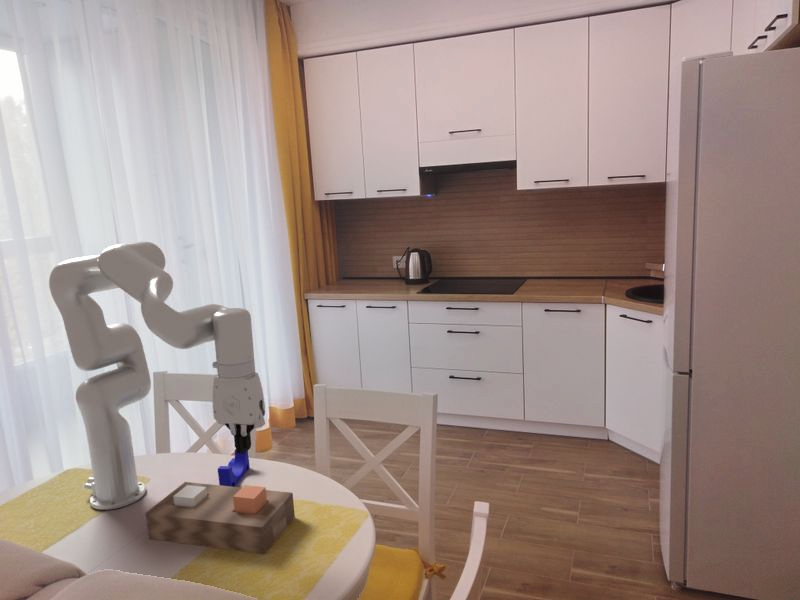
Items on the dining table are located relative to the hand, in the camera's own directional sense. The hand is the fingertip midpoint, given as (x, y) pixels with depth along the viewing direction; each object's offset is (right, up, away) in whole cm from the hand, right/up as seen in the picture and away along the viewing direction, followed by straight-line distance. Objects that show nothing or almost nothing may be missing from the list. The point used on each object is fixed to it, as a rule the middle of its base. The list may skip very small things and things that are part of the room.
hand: (243, 450), depth 125 cm
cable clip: (-10, -15, +28) cm, 33 cm away
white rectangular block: (-13, -18, +7) cm, 23 cm away
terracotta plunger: (+1, -17, +3) cm, 17 cm away
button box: (-6, -18, +5) cm, 20 cm away
